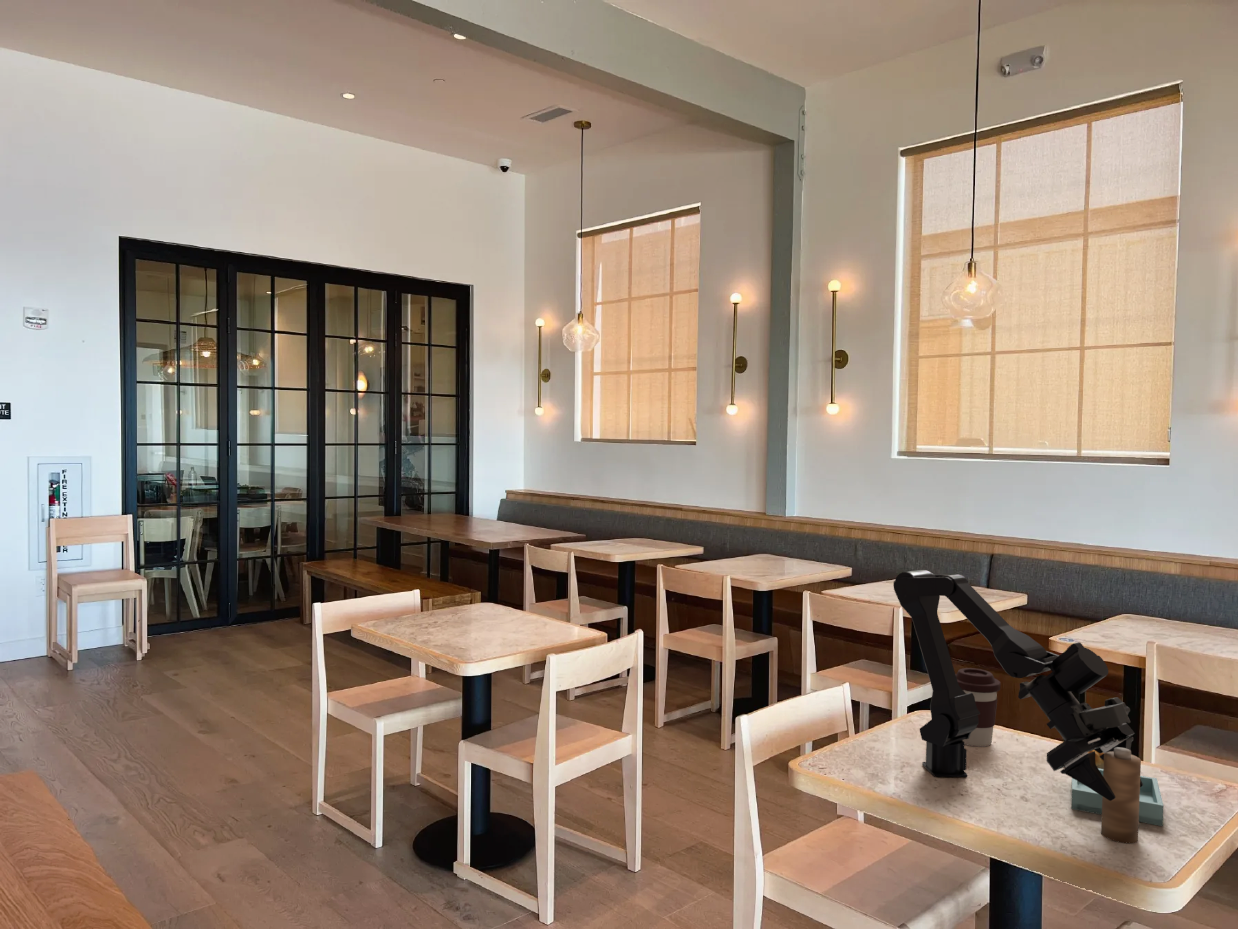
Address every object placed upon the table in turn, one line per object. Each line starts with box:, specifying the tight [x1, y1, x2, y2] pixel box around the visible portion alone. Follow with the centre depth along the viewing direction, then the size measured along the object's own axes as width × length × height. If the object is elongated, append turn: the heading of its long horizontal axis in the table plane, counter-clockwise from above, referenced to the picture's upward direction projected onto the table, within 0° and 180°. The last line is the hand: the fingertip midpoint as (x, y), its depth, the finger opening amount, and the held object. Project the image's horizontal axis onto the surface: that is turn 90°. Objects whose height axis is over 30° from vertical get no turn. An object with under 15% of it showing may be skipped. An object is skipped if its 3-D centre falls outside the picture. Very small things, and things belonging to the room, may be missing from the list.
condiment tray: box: [1070, 768, 1164, 827], centre depth 154 cm, size 14×14×4 cm
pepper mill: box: [1100, 747, 1142, 845], centre depth 141 cm, size 5×5×14 cm
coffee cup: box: [955, 667, 1002, 748], centre depth 185 cm, size 10×10×15 cm
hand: (1127, 793), depth 140 cm, fingers open, 9 cm apart
